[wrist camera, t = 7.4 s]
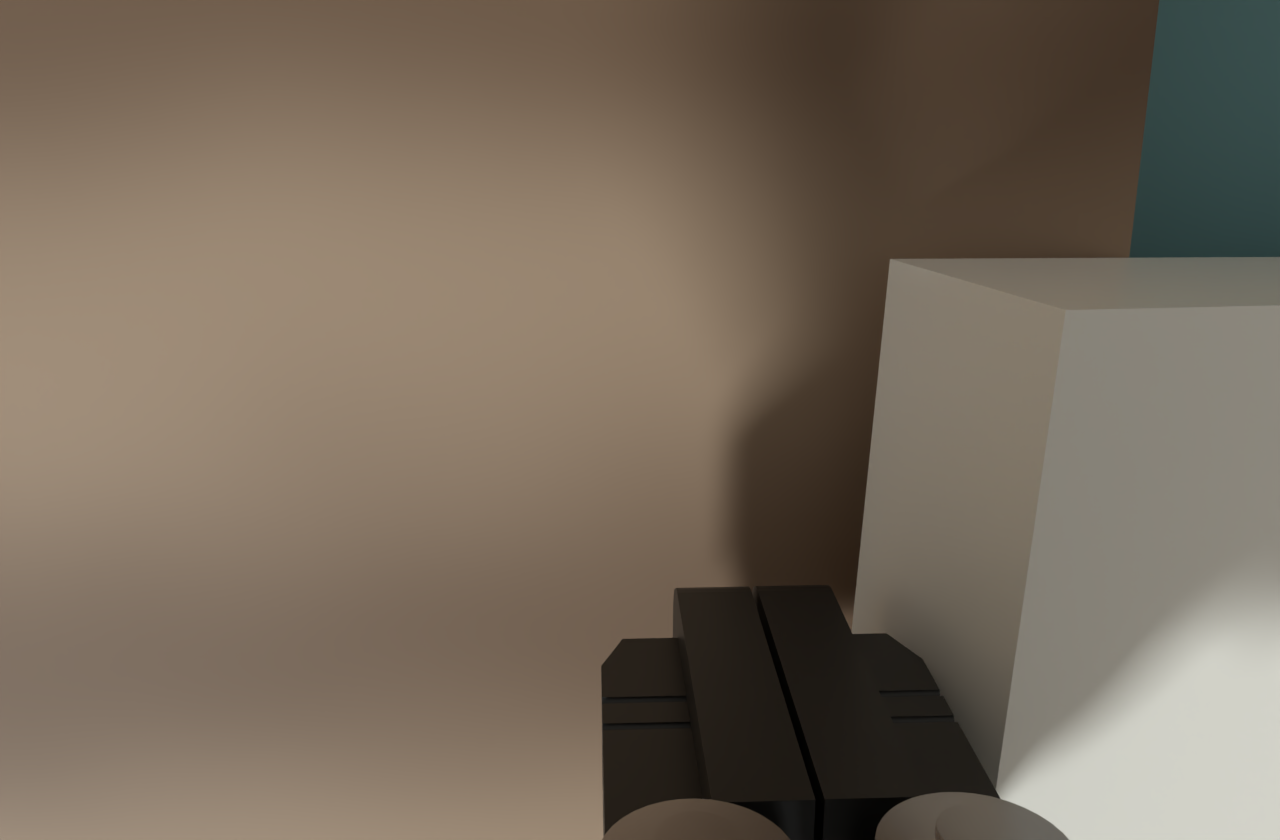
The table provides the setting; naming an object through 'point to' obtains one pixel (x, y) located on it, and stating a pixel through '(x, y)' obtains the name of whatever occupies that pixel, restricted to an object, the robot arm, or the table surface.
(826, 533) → the deck
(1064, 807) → the white flat block
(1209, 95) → the mat
